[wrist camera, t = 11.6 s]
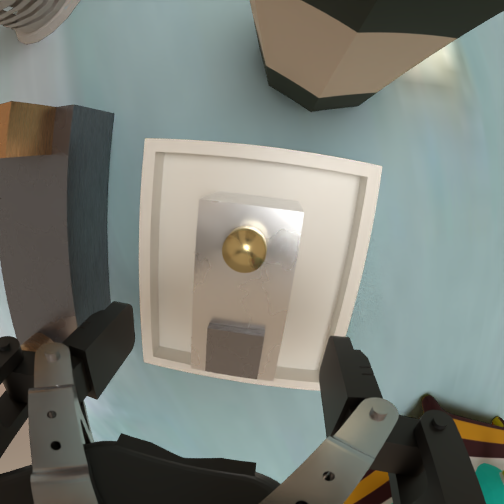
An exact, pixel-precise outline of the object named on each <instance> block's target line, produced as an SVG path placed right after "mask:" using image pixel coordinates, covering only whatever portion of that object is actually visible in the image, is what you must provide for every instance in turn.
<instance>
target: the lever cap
mask: <svg viewBox="0 0 504 504" xmlns="http://www.w3.org/2000/svg"><path fill="white" fill-rule="evenodd" d="M303 218H304V211H303V209H302V207H301V205H300V203H299V201H293V200H286V199H279V198H272V197H264V196H256V195H248V194H240V193H231V192H223V191H217V192H214V193H212V194H210V195H207V196H205V197H203V198H201V199H199V207H198V220H197V233H196V247H195V264H194V282H193V305H192V336H191V368H192V369H197V370H203V371H207V372H213V373H218V374H224V375H230V376H236V377H243V378H250V379H258V380H265V381H273V382H274V377H275V372H276V367H277V363H278V358H279V353H280V348H281V343H282V338H283V333H284V328H285V323H286V317H287V312H288V307H289V301H290V296H291V290H292V285H293V279H294V273H295V267H296V261H297V255H298V249H299V243H300V237H301V231H302V224H303Z"/></svg>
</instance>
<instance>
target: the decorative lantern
mask: <svg viewBox="0 0 504 504" xmlns="http://www.w3.org/2000/svg"><path fill="white" fill-rule="evenodd" d="M422 408H423V413H425V412H426V411H429V410H440V411H443V412H445V413H447V414H448V415H450V416H451V417H452V418H453V420H454V422H455V424H456V426H457V428H458V431H459V433H460V435H461V438H462V440H463V442H464V445H465V447H466V450H467V452H468V455H469V457H470V460H471V462H472V465H473V467H474V470H475V473H476V475H477V478H478V481H479V484H480V487H481V490H482V492H483V495H484V498H485V502H486V504H504V420H503V419H502V418H500V417H495V418H494V419H493V420H492V424H488V423H484V422H480V421H476V420H472V419H468V418H464V417H461V416H457V415H453V414H450V413H448V412H446V411H445V410H443V409H442V408H441V407H440V405H439V404H438V403H437V401H436V400H435V399H434V398H433V397H432V396H431V395H426V396H424V397H423V398H422ZM343 504H393V500H392V494H391V487H390V481H389V475H388V472H382V471H377V470H372V469H369V470H367V472H366V473H365V475H364V476H363V478H362V479H361V481H360V482H359V483H358V485H357V486H356V488H355V489H354V490H353V492H352V493H351V494H350V496H349V497H348V498H347V500H346V501H345V502H344V503H343Z"/></svg>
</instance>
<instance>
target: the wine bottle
mask: <svg viewBox="0 0 504 504" xmlns="http://www.w3.org/2000/svg"><path fill="white" fill-rule="evenodd" d="M250 4H251V8H252V13H253V18H254V23H255V27H256V32H257V37H258V42H259V47H260V51H261V55H262V59H263V63H264V67H265V71H266V75H267V79H268V83H269V86H271V87H273V88H274V89H276V90H278V91H279V92H281V93H283V94H284V95H286V96H287V97H289V98H291V99H292V100H294V101H295V102H297V103H298V104H300V105H302V106H303V107H305V108H306V109H308V110H309V111H311V112H312V111H319V110H327V109H335V108H344V107H354V106H359V105H360V104H362V103H363V102H364V101H366V100H367V99H368V98H370V97H371V96H373V95H374V94H375V93H377V92H378V91H380V90H381V89H382V88H384V87H385V86H387V85H388V84H390V83H391V82H392V81H394V80H395V79H397V78H398V77H400V76H401V75H403V74H404V73H405V72H407V71H408V70H410V69H411V68H413V67H414V66H416V65H417V64H419V63H420V62H422V61H423V60H425V59H426V58H428V57H429V56H431V55H432V54H434V53H435V52H437V51H438V50H440V49H442V48H443V47H445V46H446V45H448V44H449V43H451V42H453V41H454V40H456V39H457V38H459V37H460V36H462V35H464V34H465V33H467V32H469V31H470V30H472V29H473V28H475V27H477V26H478V25H480V24H482V23H483V22H485V21H487V20H489V19H490V18H492V17H494V16H495V15H497V14H499V13H501V12H502V11H504V0H250Z"/></svg>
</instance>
